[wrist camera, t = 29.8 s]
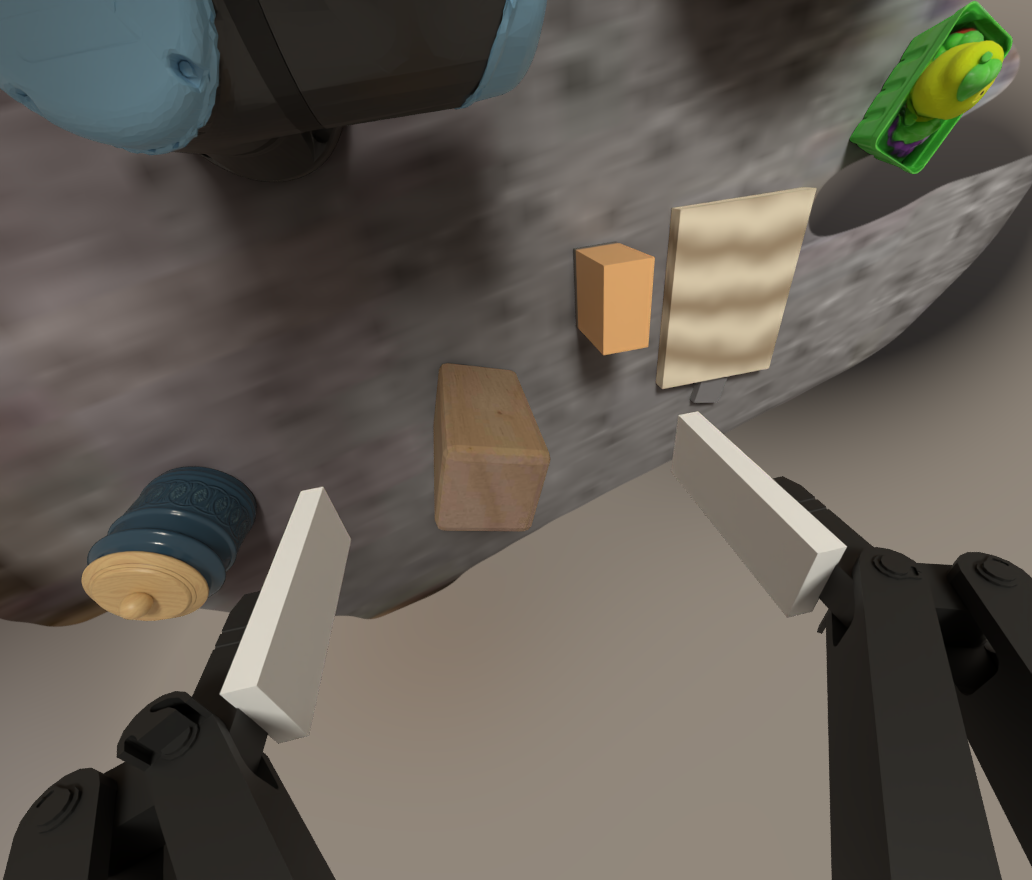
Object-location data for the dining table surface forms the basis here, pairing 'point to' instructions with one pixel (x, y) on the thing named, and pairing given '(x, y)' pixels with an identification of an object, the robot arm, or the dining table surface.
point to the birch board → (728, 284)
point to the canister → (171, 545)
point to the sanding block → (613, 296)
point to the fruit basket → (933, 88)
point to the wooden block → (485, 451)
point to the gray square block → (708, 390)
